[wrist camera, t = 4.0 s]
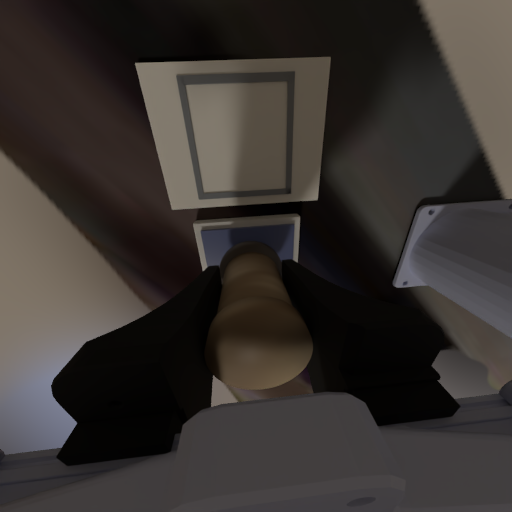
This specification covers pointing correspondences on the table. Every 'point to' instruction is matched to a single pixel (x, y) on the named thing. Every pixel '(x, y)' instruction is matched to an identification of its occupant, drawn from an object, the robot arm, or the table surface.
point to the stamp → (255, 322)
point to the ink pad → (247, 235)
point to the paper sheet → (238, 128)
